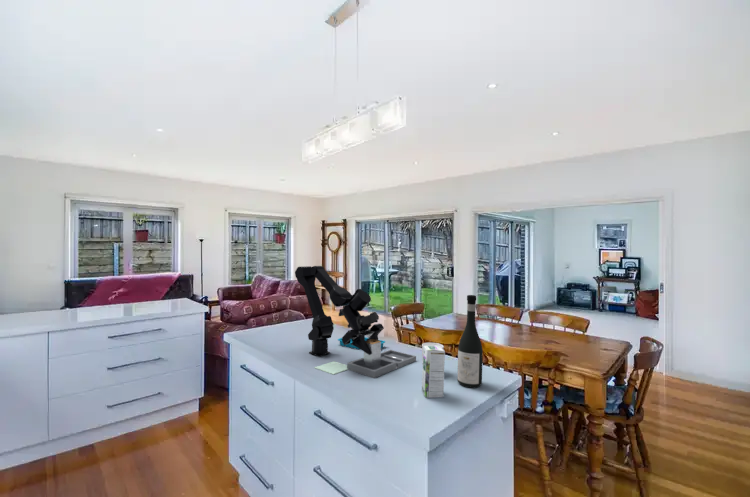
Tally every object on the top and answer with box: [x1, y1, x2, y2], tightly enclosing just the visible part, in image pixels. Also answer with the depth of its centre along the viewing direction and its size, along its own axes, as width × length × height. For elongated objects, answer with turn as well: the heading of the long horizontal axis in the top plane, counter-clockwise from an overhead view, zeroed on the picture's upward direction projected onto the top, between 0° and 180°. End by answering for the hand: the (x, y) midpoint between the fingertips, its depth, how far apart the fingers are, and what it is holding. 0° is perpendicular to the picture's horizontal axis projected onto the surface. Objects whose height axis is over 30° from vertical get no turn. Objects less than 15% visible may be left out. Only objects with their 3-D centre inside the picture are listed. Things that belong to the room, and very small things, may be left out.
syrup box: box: [421, 345, 446, 399], centre depth 109 cm, size 6×6×14 cm
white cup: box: [421, 342, 445, 365], centre depth 129 cm, size 8×8×10 cm
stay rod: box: [384, 355, 403, 361], centre depth 140 cm, size 10×1×1 cm, turn 51°
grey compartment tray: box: [346, 349, 417, 379], centre depth 135 cm, size 13×27×2 cm, turn 141°
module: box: [363, 339, 382, 370], centre depth 130 cm, size 4×5×10 cm
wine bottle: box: [457, 294, 484, 389], centre depth 118 cm, size 8×8×30 cm
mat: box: [313, 361, 349, 375], centre depth 130 cm, size 10×10×1 cm
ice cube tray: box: [337, 336, 386, 350], centre depth 161 cm, size 12×20×3 cm, turn 58°
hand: (375, 352), depth 129 cm, fingers closed on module, 5 cm apart
